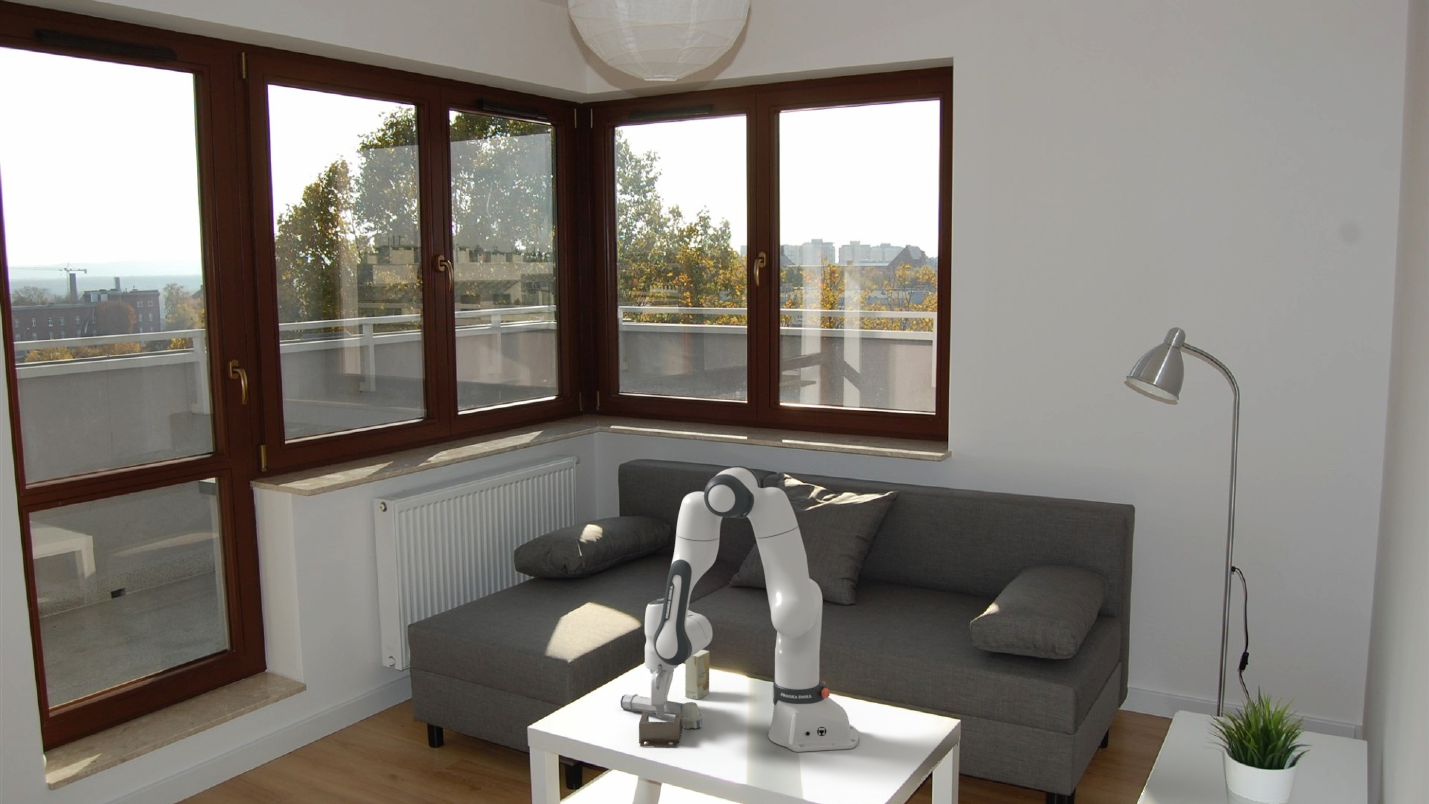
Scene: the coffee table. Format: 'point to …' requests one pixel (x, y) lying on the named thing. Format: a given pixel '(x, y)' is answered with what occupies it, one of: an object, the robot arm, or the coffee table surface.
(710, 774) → the coffee table surface
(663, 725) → the bracket
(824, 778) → the coffee table surface
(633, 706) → the white handheld device
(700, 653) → the skincare box
